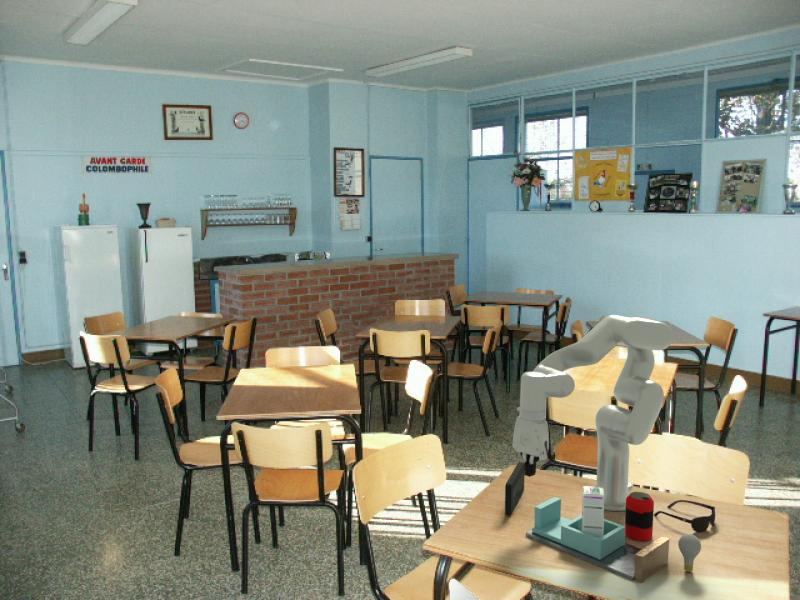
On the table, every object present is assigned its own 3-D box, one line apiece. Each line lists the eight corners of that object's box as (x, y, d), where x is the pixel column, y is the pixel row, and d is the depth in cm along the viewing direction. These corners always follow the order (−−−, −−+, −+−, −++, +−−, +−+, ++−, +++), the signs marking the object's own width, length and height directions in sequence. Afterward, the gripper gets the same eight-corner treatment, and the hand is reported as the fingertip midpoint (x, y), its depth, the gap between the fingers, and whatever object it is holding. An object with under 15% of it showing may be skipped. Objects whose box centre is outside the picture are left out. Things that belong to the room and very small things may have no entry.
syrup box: (603, 546, 196) (605, 495, 194) (581, 543, 197) (582, 493, 195) (602, 536, 201) (604, 486, 199) (580, 534, 203) (582, 485, 200)
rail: (556, 519, 217) (557, 497, 216) (668, 563, 191) (670, 538, 190) (525, 535, 207) (526, 512, 206) (640, 583, 181) (641, 557, 180)
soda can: (638, 544, 202) (640, 503, 200) (618, 533, 208) (620, 493, 207) (658, 538, 205) (660, 498, 204) (638, 527, 212) (639, 488, 210)
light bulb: (673, 566, 189) (675, 530, 188) (693, 565, 190) (695, 529, 188) (683, 577, 184) (685, 540, 183) (703, 576, 185) (705, 539, 183)
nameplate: (510, 516, 220) (511, 485, 218) (504, 515, 220) (505, 484, 219) (524, 490, 239) (524, 461, 238) (518, 489, 240) (519, 460, 238)
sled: (557, 518, 215) (557, 495, 214) (624, 544, 199) (625, 519, 198) (531, 531, 207) (532, 507, 206) (600, 559, 191) (601, 534, 190)
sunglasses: (699, 537, 206) (700, 520, 206) (648, 519, 218) (649, 503, 217) (720, 522, 215) (721, 506, 215) (670, 506, 227) (671, 491, 226)
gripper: (504, 411, 213) (501, 471, 215) (546, 423, 202) (543, 485, 204) (519, 406, 218) (517, 465, 220) (561, 418, 207) (558, 479, 210)
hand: (529, 474), depth 212 cm, fingers closed
